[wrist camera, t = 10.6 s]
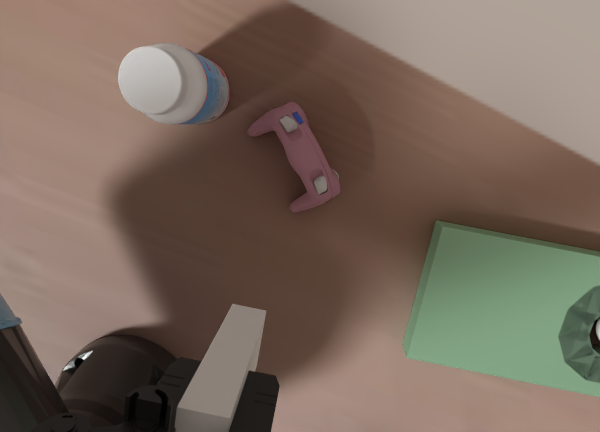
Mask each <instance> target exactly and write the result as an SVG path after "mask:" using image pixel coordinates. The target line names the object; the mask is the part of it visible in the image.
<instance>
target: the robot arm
mask: <svg viewBox="0 0 600 432" xmlns="http://www.w3.org/2000/svg"><path fill="white" fill-rule="evenodd" d="M265 317H266V311H265V310H261V309H256V308H251V307H246V306H241V305H236V304H232V306H231V308H230V310H229V311H228V313H227V315H226V317H225V319H224V321H223V323H222V324H221V326H220V328H219V330H218V332H217V334H216V336H215V337H214V339H213V341H212V343H211V345H210V347H209V349H208V350H207V352H206V354H205V356H204V358H203V360H202V362H201V361H196V360H192V359H187V358H182V357H181V358H179V359H178V360H176V359H175V358H174V357H173V356H172V355H171V354H169V353H168V352H167V351H166V350H164V349H163V348H161V347H160V346H158V345H156V344H154V343H152V342H150V341H148V340H145V339H142V338H138V337H134V336H127V335H115V336H108V337H104V338H100V339H98V340H95V341H93V342H91V343H90V344H88V345H87V346H85V347H84V348H83V349H82V350H81V351H80V352H78V353H77V354H76V355H75V356H74V357H73V358H72V359H71V360H70V361H69V362H68V363H67V365H66V366H65V367H64V369H63V370H62V372H61V374H60V376H59V378H58V380H57V382H56V384H55V386H54V384H53V382H52V381H51V379H50V377H49V376H48V374H47V372H46V371H45V369H44V367H43V365H42V363H41V362H40V360H39V358H38V356H37V354H36V353H35V351H34V349H33V347H32V345H31V344H30V342H29V340H28V338H27V336H26V335H25V333H24V331H23V329H22V328H21V326H20V324H21V323H22V321H21V319H20V318H18V317H15V315H14V313H13V312H12V310H11V309H10V307H9V306H8V304H7V303H6V301H5V300H4V298H3V297H2V295H1V294H0V432H271V427H272V422H273V417H274V412H275V407H276V402H277V397H278V391H279V383H278V381H277V378H276V376H274V375H269V374H264V373H259V372H255V370H256V367H257V362H258V356H259V350H260V345H261V339H262V334H263V328H264V322H265Z"/></svg>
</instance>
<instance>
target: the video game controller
mask: <svg viewBox="0 0 600 432" xmlns="http://www.w3.org/2000/svg"><path fill="white" fill-rule="evenodd" d="M270 131H275V132H276V134H277V136H278V138H279V139H280V141H281V143H282V144H283V146H284V148H285V152H286V156H287V158H288V161H289V163H290V165H291V167H292V168H293V169H294V170H295V171H296V172H297V173H298V174H299V176H300V178H301V180H302V182H303V184H304V186H305V188H306V190H307V192H306V193H305V194H303V195H302V196H300V197H299V198H297V199H296V200H294V201H293V202H292V203H291V204H290V206H289V209H290V211H292V212H301V211H305V210H308V209H311V208H314V207H317V206H320V205H321V204H323V203H325V202H327V201H329V200H331V199H332V198H334V197H335V196H337V195H338V194H340V191H341V189H340V183H339V181H338V180H339V176H338V173H337V172H336V171H335V170H333V169H331V168H330V166H329V165H328V162H327V160H326V158H325V156H324V154H323V151H322V149H321V147H320V146H319V144H318V142H317V140H316V138H315V136H314V135H313V133H312V132H311V130H310V127H309V123H308V120H307V117H306V115H305V113H304V112H303V110H302V109H301V108H300V106H299V105H298V104H296V103H295V102H289V103H287V104H285V105H283V106H279V107H276V108H273V109H271V110H270V111H268V112H267V113H265V114H264V115H263V116H261V117H260V118H259V119H258V120H256V121H255V122H254V123H253V124H252V125H251V126H250V127H249V129H248V132H247V133H248V135H249V136H253V137H255V136H260V135H262V134H265V133H267V132H270Z"/></svg>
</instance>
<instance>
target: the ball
mask: <svg viewBox="0 0 600 432" xmlns="http://www.w3.org/2000/svg"><path fill="white" fill-rule="evenodd" d="M596 334H597V336H598V338H599V340H600V318H599V319H598V321H597V323H596Z"/></svg>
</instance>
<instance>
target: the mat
mask: <svg viewBox="0 0 600 432" xmlns="http://www.w3.org/2000/svg"><path fill="white" fill-rule="evenodd" d="M599 317H600V252H599V251H594V250H589V249H583V248H578V247H573V246H568V245H563V244H557V243H552V242H547V241H542V240H537V239H531V238H526V237H521V236H516V235H511V234H506V233H500V232H495V231H490V230H485V229H480V228H474V227H469V226H464V225H459V224H454V223H448V222H443V221H438V220H436V222H435V226H434V230H433V233H432V237H431V241H430V245H429V248H428V252H427V256H426V259H425V263H424V267H423V271H422V274H421V278H420V282H419V285H418V289H417V293H416V297H415V300H414V304H413V308H412V311H411V315H410V319H409V323H408V326H407V330H406V334H405V337H404V341H403V348H404V351H405V354H406V357H407V358H410V359H415V360H420V361H425V362H430V363H435V364H440V365H444V366H449V367H454V368H459V369H464V370H469V371H474V372H479V373H484V374H489V375H494V376H499V377H504V378H508V379H513V380H518V381H523V382H528V383H533V384H538V385H543V386H548V387H553V388H558V389H563V390H567V391H572V392H577V393H582V394H587V395H592V396H597V397H600V346H596V345H591V341H590V337H589V334H590V331H591V329H592V326H593V324H594V321H595V320H597V319H598V318H599Z"/></svg>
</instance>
